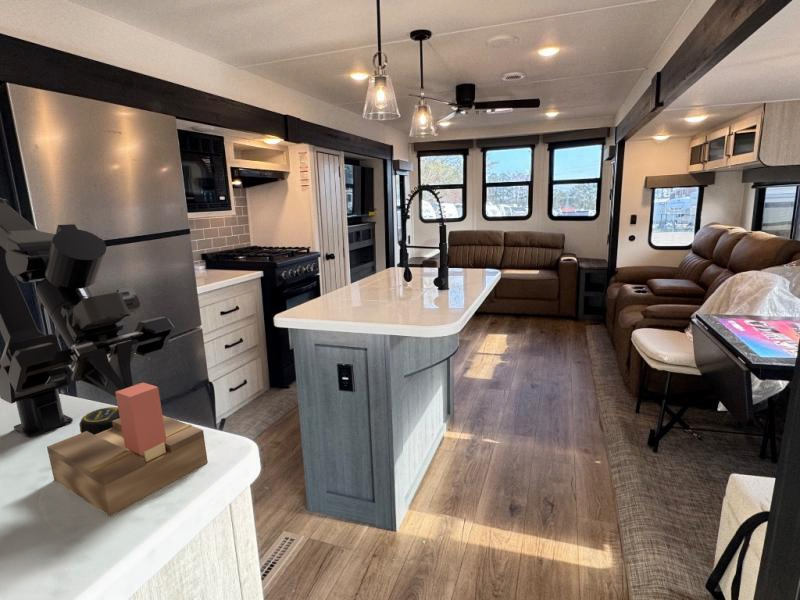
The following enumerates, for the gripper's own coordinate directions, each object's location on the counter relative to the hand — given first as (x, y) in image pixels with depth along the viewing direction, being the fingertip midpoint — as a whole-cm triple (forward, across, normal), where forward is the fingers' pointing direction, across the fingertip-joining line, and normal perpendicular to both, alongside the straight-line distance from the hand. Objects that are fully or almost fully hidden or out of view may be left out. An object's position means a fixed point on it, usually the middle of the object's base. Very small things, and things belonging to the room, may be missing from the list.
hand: (130, 400), depth 59 cm
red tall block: (+6, 0, +3) cm, 7 cm away
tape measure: (-4, +5, +21) cm, 22 cm away
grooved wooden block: (+6, 0, +10) cm, 11 cm away
